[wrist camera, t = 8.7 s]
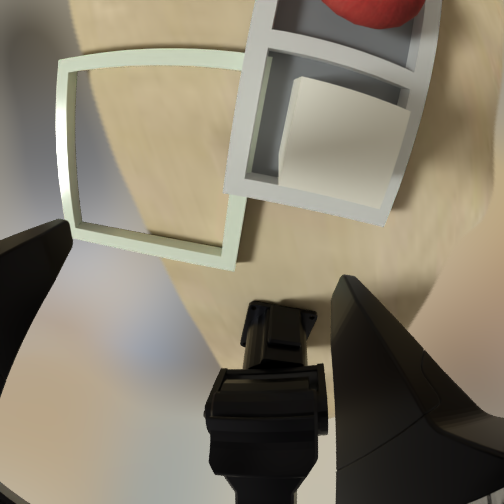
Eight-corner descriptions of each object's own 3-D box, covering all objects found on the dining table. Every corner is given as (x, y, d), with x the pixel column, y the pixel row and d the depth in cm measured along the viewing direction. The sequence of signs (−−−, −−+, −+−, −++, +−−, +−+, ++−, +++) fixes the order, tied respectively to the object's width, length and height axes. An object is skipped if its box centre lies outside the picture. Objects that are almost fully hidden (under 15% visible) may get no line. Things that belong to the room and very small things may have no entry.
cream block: (351, 171, 18) (379, 209, 13) (278, 153, 17) (278, 185, 12) (371, 101, 15) (410, 111, 10) (293, 79, 15) (301, 76, 10)
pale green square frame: (236, 262, 24) (234, 271, 23) (74, 230, 23) (68, 237, 22) (273, 58, 15) (272, 56, 14) (68, 59, 14) (58, 60, 13)
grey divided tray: (373, 211, 20) (383, 227, 18) (228, 180, 20) (222, 193, 18) (427, -22, 9) (443, -30, 7) (276, -69, 9) (275, -85, 7)
